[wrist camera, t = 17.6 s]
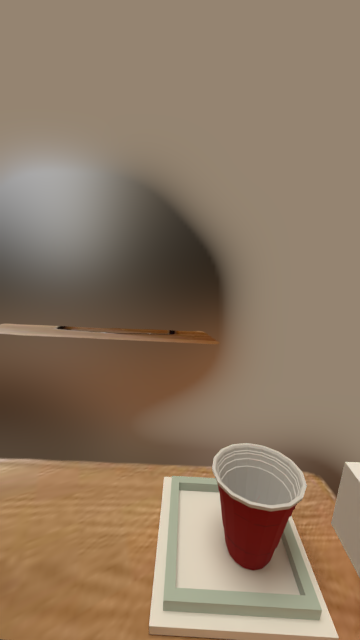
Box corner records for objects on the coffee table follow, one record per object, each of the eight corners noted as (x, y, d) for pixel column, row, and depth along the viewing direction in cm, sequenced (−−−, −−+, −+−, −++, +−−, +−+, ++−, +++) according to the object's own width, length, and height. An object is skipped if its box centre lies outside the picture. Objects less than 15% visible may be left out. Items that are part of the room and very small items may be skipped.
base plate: (148, 634, 28) (149, 615, 28) (164, 482, 47) (164, 469, 46) (336, 646, 28) (341, 627, 28) (277, 488, 47) (279, 475, 46)
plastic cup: (275, 508, 42) (286, 439, 39) (307, 596, 31) (325, 510, 28) (203, 505, 42) (208, 436, 39) (209, 592, 31) (217, 506, 28)
